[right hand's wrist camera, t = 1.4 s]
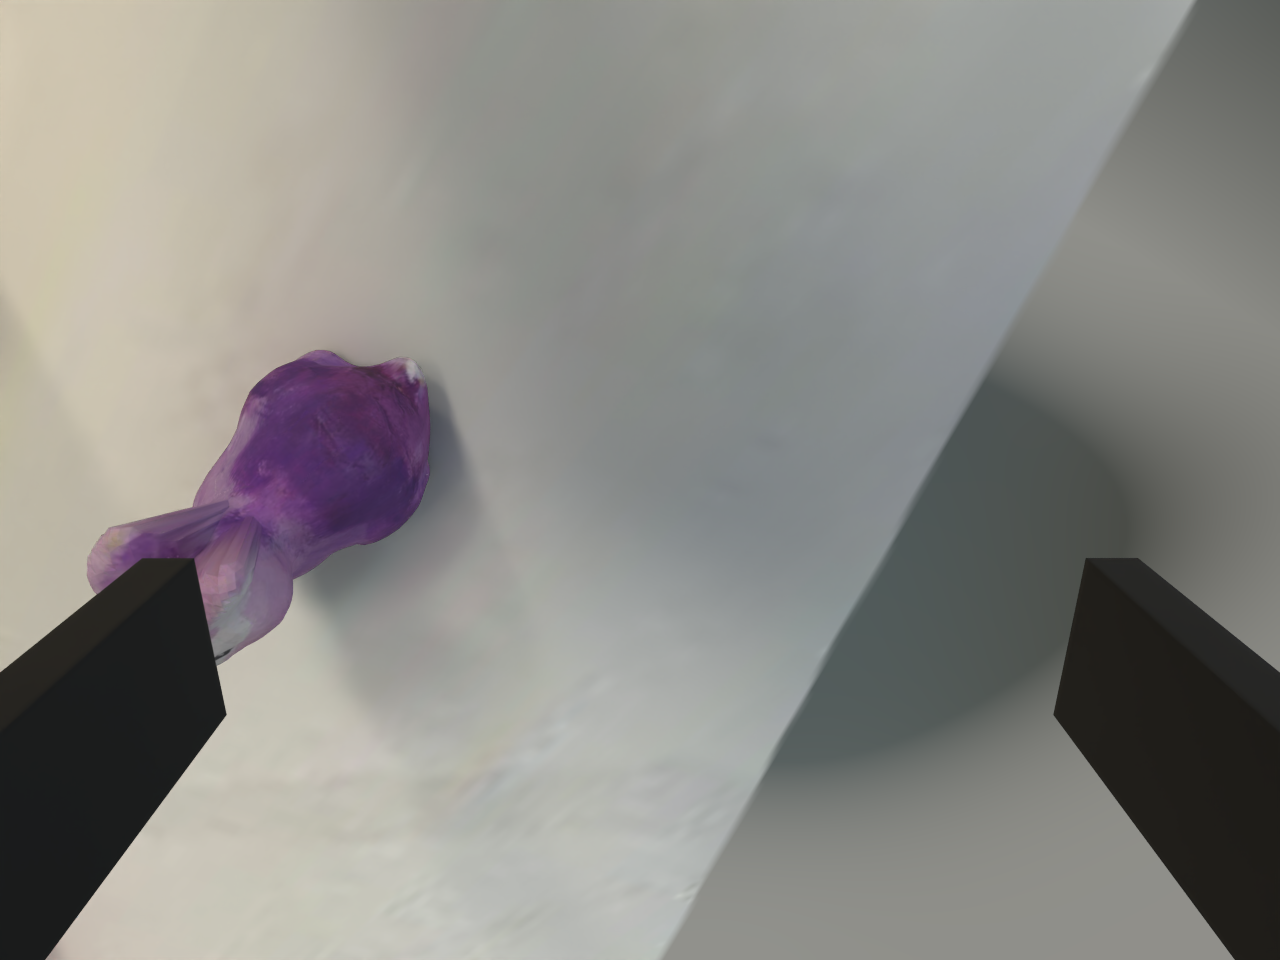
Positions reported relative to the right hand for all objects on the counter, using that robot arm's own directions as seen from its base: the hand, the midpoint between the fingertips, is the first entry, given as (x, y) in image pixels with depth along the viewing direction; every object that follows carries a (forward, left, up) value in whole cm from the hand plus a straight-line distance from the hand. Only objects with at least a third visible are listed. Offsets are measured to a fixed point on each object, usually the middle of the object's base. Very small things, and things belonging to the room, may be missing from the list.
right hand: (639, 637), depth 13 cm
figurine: (+2, -15, -26) cm, 30 cm away
